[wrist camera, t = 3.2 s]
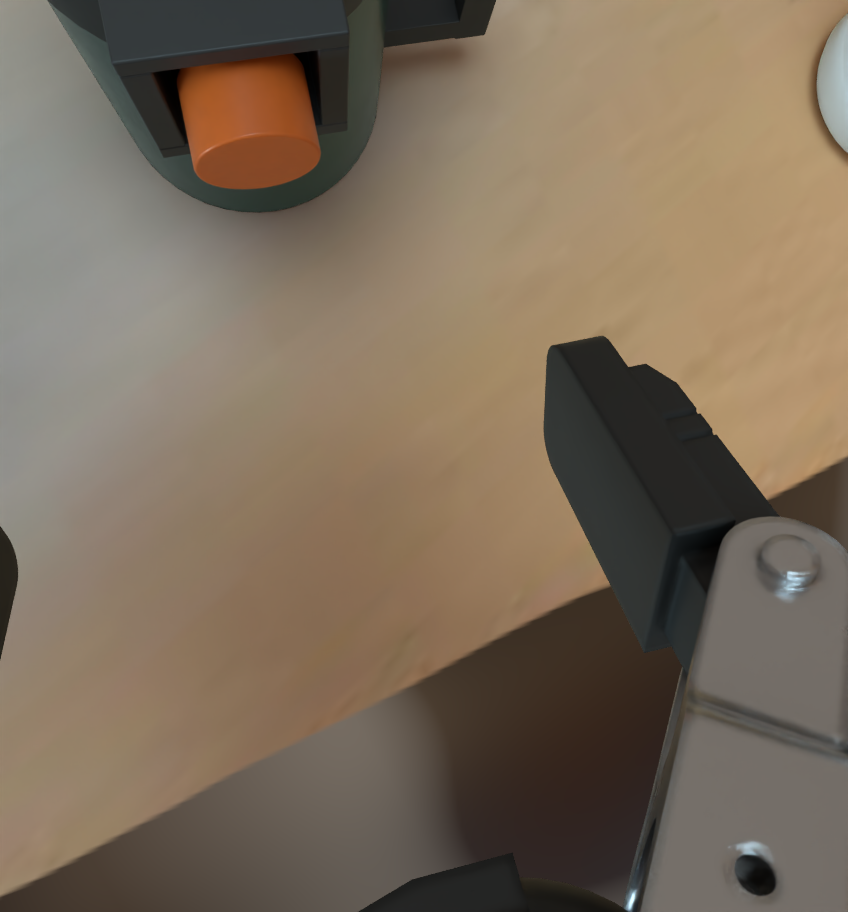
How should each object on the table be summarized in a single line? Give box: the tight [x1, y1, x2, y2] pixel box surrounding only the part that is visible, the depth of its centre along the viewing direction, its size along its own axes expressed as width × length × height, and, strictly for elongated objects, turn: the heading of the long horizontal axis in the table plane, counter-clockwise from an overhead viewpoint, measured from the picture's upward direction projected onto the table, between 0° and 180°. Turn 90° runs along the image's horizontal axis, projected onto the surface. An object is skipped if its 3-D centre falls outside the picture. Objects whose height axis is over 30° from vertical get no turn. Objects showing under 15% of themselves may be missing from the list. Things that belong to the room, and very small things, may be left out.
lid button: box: [177, 53, 321, 189], centre depth 20 cm, size 2×3×3 cm
